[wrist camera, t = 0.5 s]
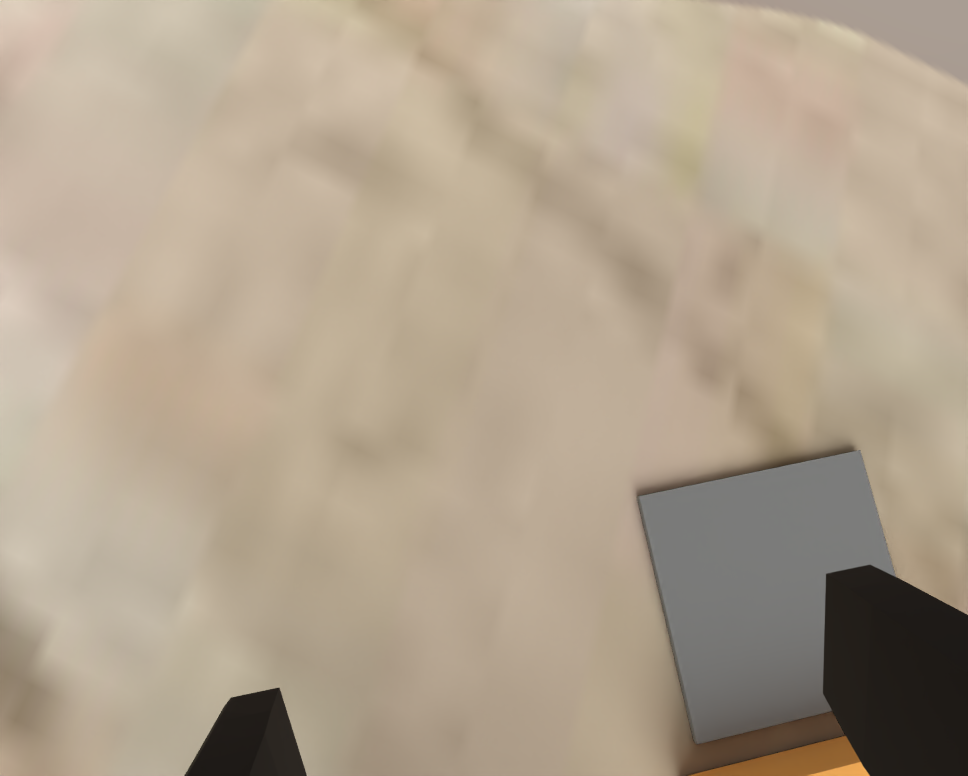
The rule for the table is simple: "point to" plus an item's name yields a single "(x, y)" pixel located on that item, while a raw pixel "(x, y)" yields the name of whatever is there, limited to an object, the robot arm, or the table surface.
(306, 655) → the table surface
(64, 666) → the table surface
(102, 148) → the table surface
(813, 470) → the slate mat
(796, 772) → the orange bar
